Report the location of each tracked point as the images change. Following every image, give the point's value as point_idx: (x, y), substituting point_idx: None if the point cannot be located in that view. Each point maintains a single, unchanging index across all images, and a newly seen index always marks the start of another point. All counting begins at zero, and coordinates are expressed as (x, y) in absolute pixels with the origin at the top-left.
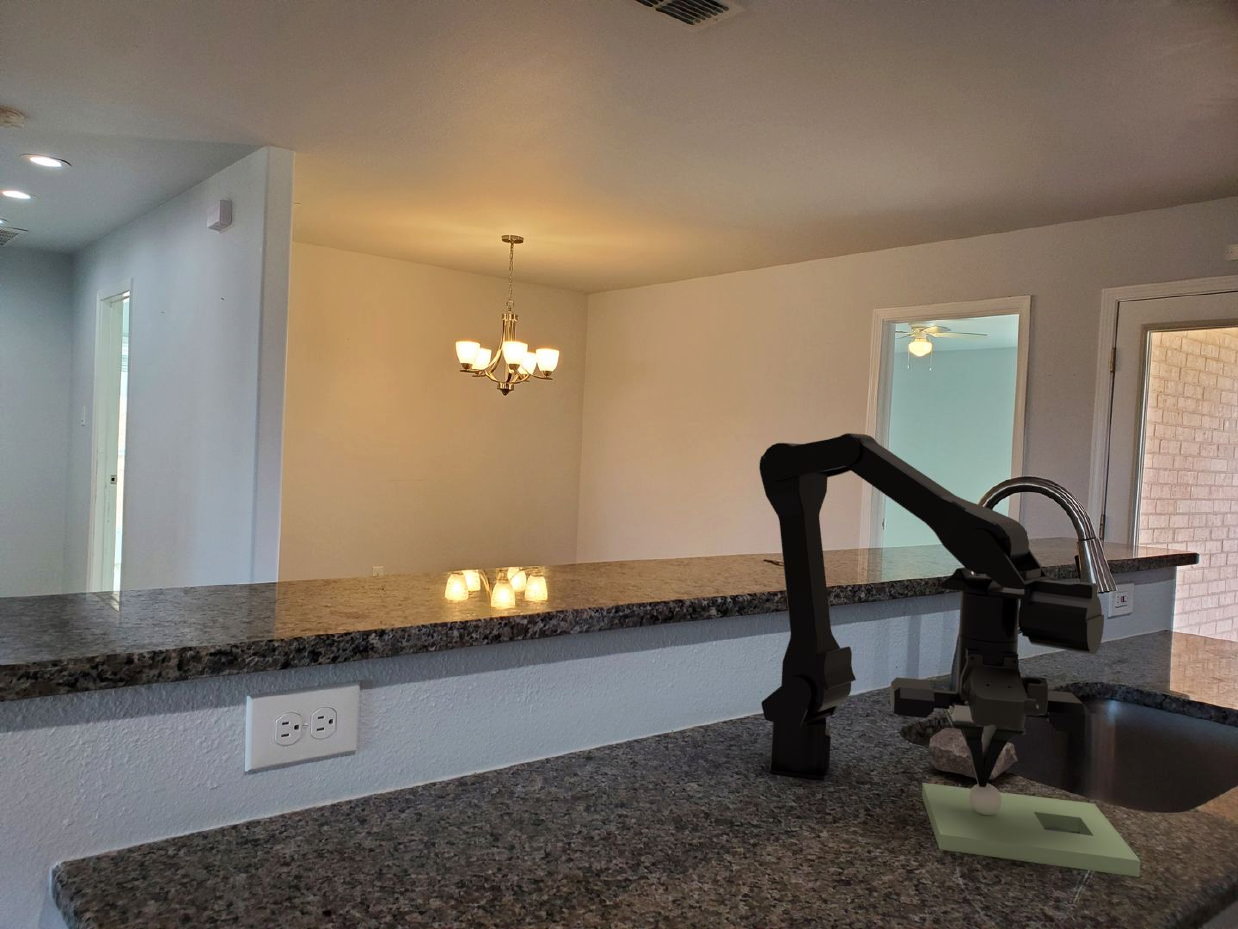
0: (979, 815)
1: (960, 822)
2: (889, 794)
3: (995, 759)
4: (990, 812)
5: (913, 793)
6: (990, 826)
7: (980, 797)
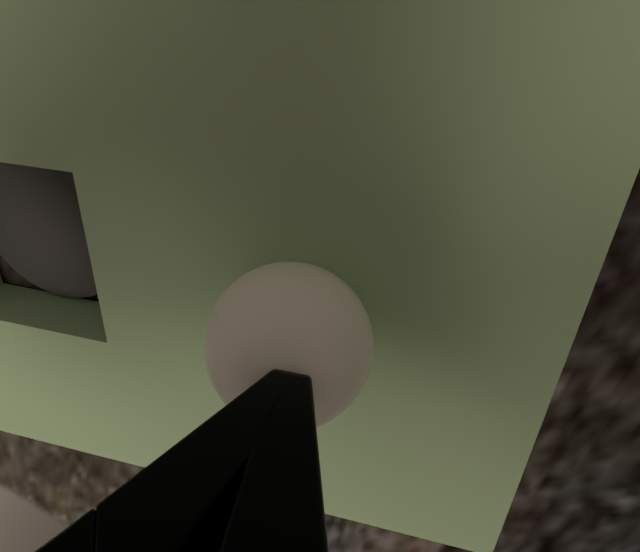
0: None
1: (476, 176)
2: (622, 526)
3: (110, 510)
4: (287, 261)
5: (509, 528)
6: (316, 155)
7: (322, 312)
